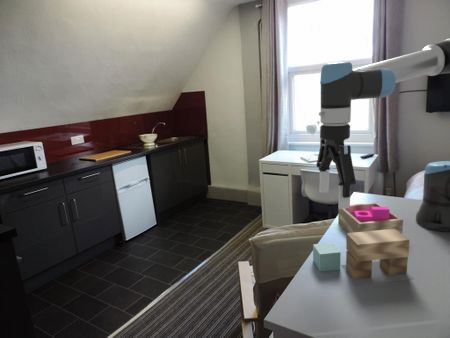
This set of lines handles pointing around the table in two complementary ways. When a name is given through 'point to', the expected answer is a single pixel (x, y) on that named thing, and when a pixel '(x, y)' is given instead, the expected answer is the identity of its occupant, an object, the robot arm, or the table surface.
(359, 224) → the wooden open box
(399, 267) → the pillar
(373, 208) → the bracket
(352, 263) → the pillar
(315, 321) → the table surface
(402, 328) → the table surface
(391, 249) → the lintel
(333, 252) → the cube
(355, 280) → the mat
